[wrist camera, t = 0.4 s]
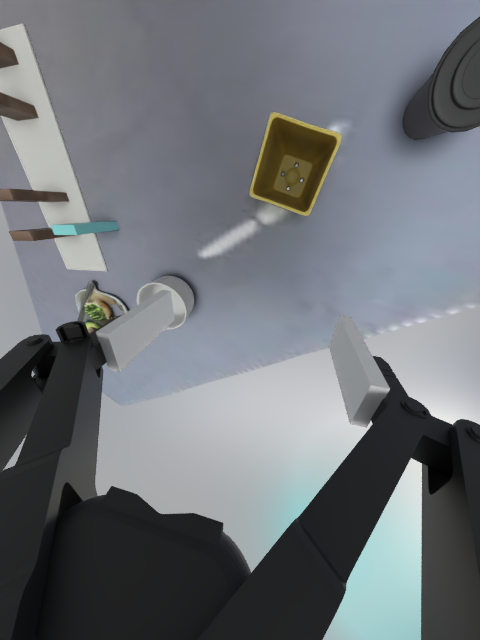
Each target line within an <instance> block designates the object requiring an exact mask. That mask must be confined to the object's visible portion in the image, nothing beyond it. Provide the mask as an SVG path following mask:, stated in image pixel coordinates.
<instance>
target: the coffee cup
mask: <svg viewBox="0 0 480 640" xmlns="http://www.w3.org/2000/svg"><path fill="white" fill-rule="evenodd" d="M479 126H480V17H479V18H477V19H476V20H475V21H474V22H473V23H471V24H470V25H469V26H468V27H467V28H465V29H464V30H463V31H462V32H461V33H460V34H459V35H458V36H457V37H456V39H455V40H454V41H453V42H452V44H451V45H450V46H449V47H448V48H447V50H446V51H445V53H444V54H443V56H442V58H441V60H440V62H439V63H438V65H437V67H436V69H435V70H434V73H433V74H432V75H431V76H430V78H429V79H428V80H427V81H426V83H425V84H424V85H423V86H422V88H421V89H420V90H419V91H418V93H417V94H416V95H415V96H414V97H413V99H412V100H411V101H410V103H409V105H408V106H407V108H406V110H405V113H404V117H403V129H404V132H405V134H406V135H407V136H408V137H410V138H412V139H423V138H427V137H430V136H434V135H437V134H441V133H444V132H448V131H449V132H463V131H468V130H470V129H473V128H476V127H479Z"/></svg>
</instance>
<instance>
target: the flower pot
mask: <svg viewBox="0 0 480 640" xmlns="http://www.w3.org/2000/svg"><path fill="white" fill-rule="evenodd" d="M341 140H342V135H341V134H340V133H337V132H334V131H331V130H327V129H324V128H320V127H317V126H314V125H310V124H307V123H305V122H302V121H299V120H296V119H294V118H291V117H288V116H285V115H283V114H280V113H277V112H272V113H271V114H270V117H269V121H268V124H267V128H266V132H265V136H264V140H263V144H262V147H261V151H260V155H259V158H258V162H257V165H256V169H255V173H254V176H253V180H252V184H251V187H250V192H249V195H250V196H251V197H253V198H255V199H259V200H262V201H265V202H267V203H270V204H273V205H276V206H278V207H281V208H284V209H287V210H290V211H292V212H295V213H297V214H300V215H303V216H308V215H309V214H310V213H311V210H312V208H313V206H314V203H315V201H316V198H317V196H318V194H319V191H320V189H321V187H322V184H323V182H324V179H325V177H326V175H327V173H328V170H329V168H330V166H331V163H332V161H333V159H334V157H335V154H336V152H337V150H338V148H339V145H340V143H341ZM296 163H298V167H295V164H296ZM282 172H284V173H285V175H284V176H282V175H281V173H282ZM301 178H303V182H302V183H301V182H300V179H301ZM287 187H290V190H287V189H286V188H287Z"/></svg>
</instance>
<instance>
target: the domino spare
mask: <svg viewBox="0 0 480 640" xmlns="http://www.w3.org/2000/svg"><path fill="white" fill-rule="evenodd" d="M51 228H52V230H53V232H54V235H82V234H89V233H97V232H105V231H113V230H119V227H118V224H117V222H86V223H72V224H58V225H51Z"/></svg>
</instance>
